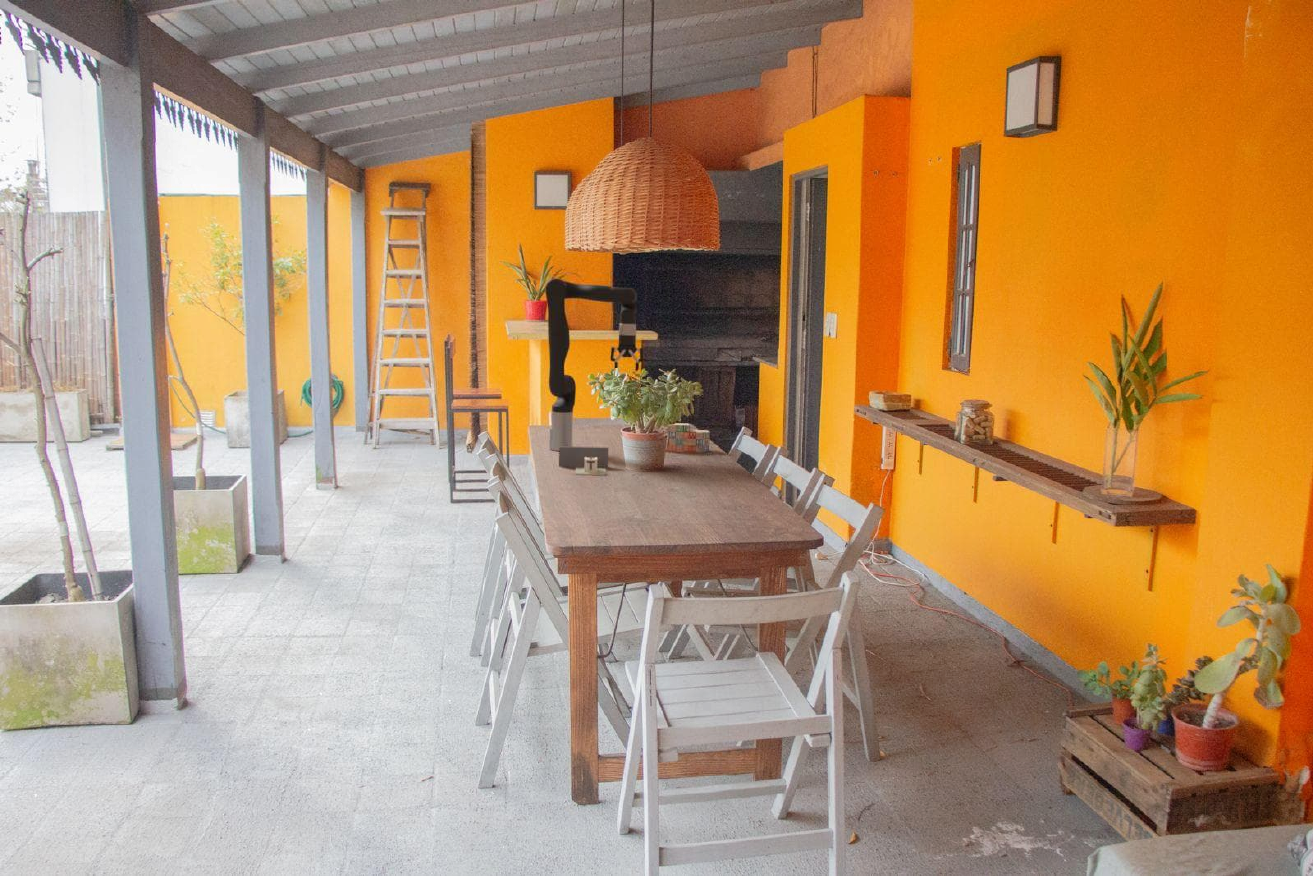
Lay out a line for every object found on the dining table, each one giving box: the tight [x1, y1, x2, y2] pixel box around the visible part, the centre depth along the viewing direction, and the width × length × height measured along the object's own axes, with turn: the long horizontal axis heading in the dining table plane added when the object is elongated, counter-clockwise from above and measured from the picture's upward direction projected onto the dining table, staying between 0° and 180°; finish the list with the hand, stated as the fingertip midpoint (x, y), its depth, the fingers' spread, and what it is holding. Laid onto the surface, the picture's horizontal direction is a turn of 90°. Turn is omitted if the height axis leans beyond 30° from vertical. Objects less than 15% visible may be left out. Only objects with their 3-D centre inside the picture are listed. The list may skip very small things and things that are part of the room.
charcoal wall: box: [558, 446, 609, 468], centre depth 413 cm, size 20×2×8 cm, turn 93°
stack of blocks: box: [665, 422, 711, 453], centre depth 458 cm, size 21×6×12 cm, turn 93°
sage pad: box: [574, 467, 607, 476], centre depth 403 cm, size 12×12×1 cm
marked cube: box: [583, 457, 598, 472], centre depth 402 cm, size 5×5×5 cm
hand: (626, 371), depth 444 cm, fingers open, 8 cm apart
